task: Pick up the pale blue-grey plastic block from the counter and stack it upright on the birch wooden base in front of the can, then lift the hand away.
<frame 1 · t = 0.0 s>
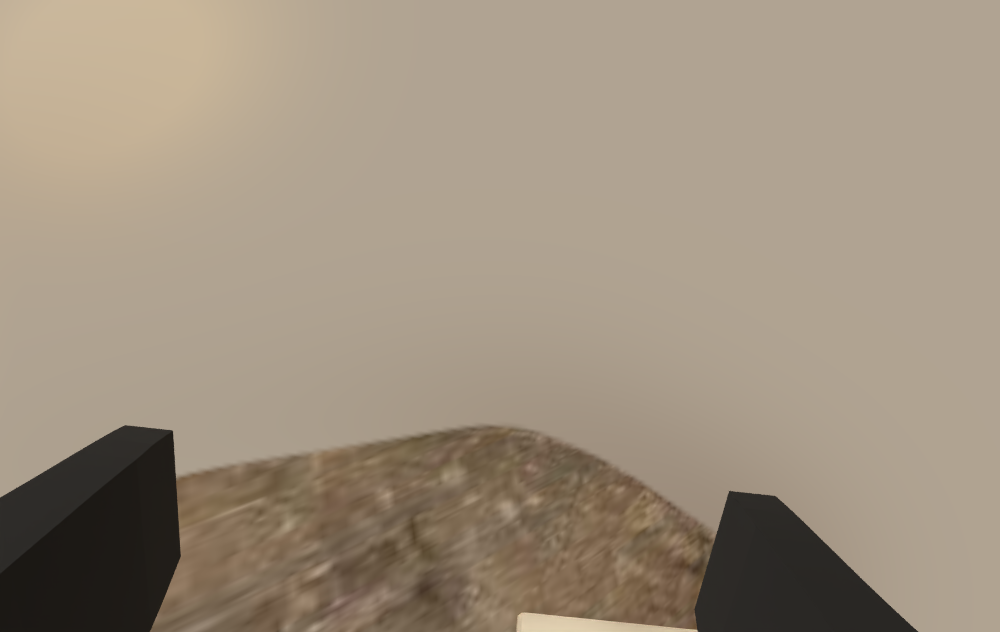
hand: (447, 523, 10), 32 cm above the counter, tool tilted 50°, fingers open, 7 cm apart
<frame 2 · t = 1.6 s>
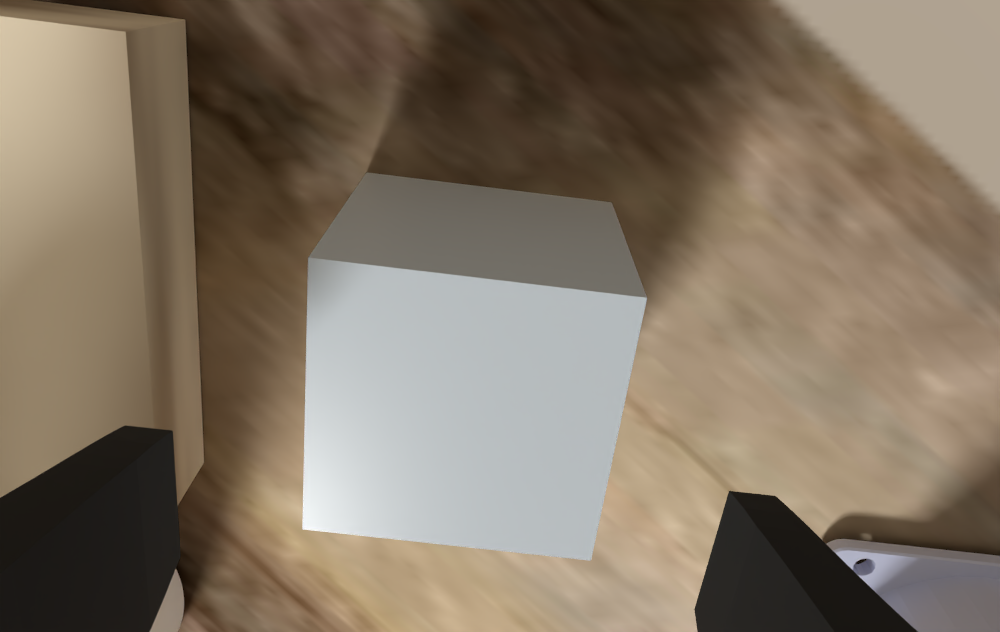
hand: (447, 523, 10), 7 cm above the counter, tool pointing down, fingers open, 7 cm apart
can: (69, 568, 21), on the counter
block: (476, 298, 17), on the counter
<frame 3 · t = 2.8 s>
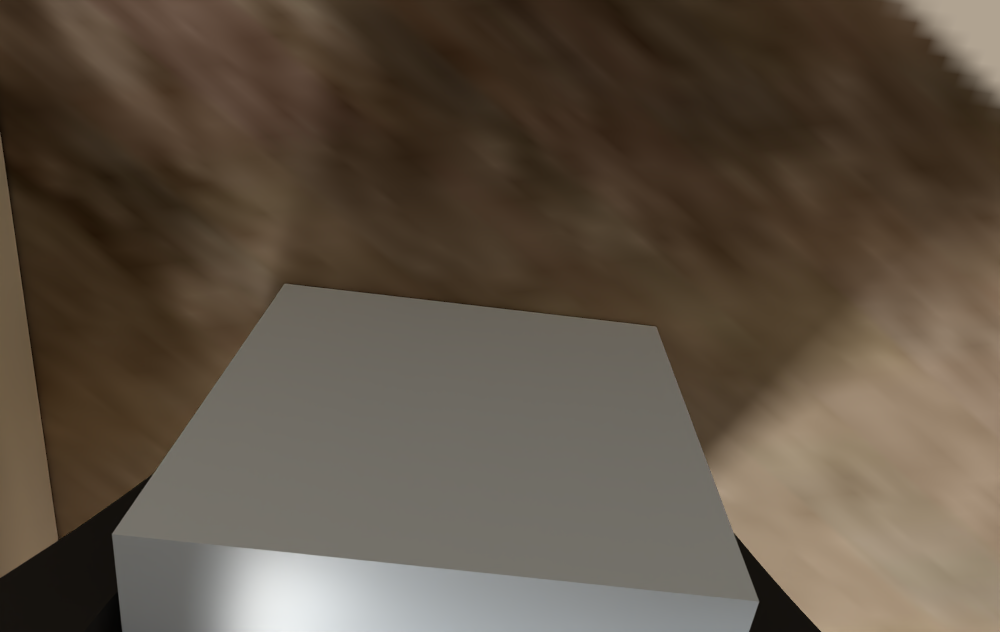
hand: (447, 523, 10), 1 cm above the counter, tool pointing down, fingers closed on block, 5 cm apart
block: (454, 459, 12), on the counter, touching gripper
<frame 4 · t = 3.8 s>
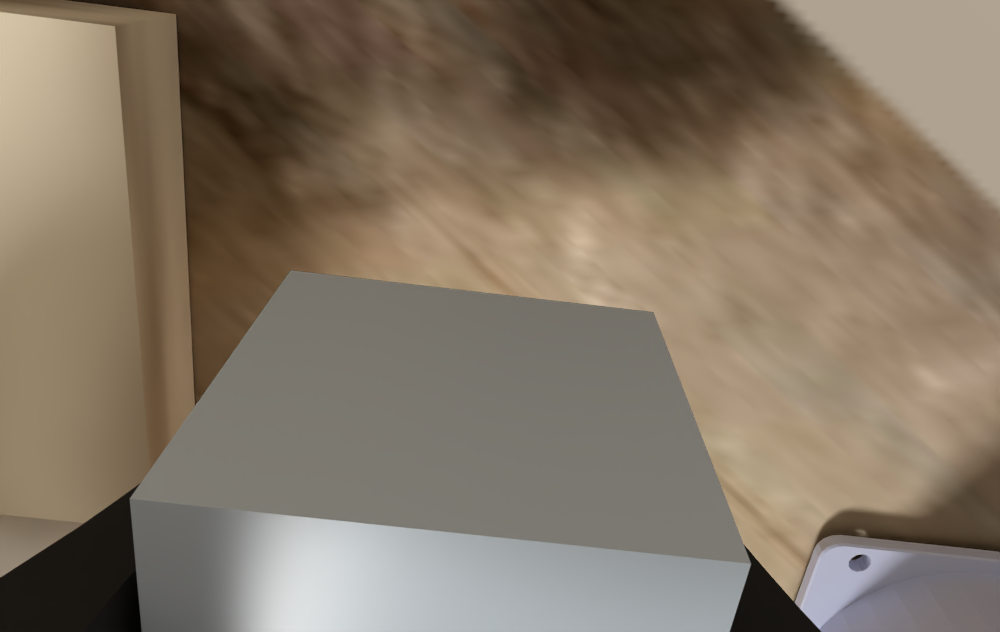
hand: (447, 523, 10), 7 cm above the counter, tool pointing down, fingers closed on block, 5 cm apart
can: (62, 567, 21), on the counter
block: (456, 444, 12), point 6 cm above the counter, touching gripper
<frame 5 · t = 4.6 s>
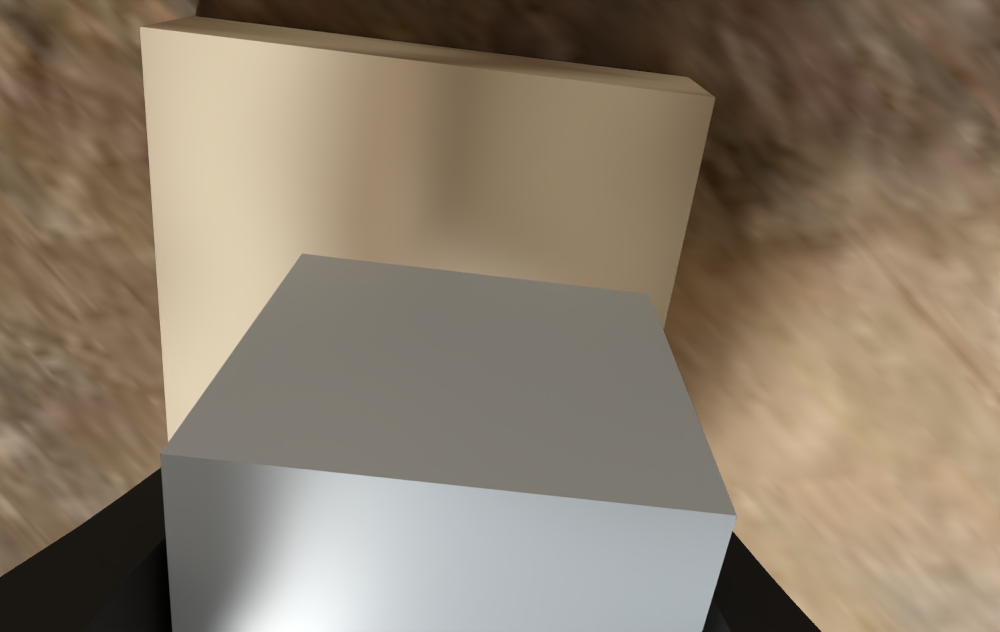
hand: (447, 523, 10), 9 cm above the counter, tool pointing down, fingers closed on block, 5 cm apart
base: (424, 276, 18), on the counter
block: (459, 422, 12), point 6 cm above the counter, touching gripper
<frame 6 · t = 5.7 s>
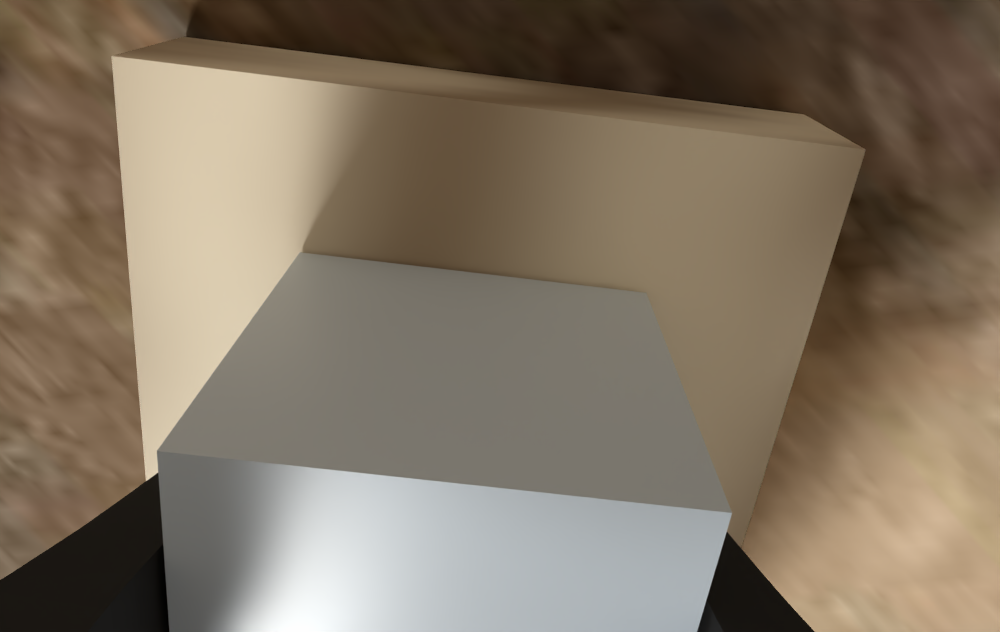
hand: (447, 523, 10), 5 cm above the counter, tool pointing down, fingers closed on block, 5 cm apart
base: (466, 351, 15), on the counter
block: (457, 420, 12), point 3 cm above the counter, touching gripper
when the fingers open (5 cm above the counter, at t = 5.9 s): block stays where it is, resting on base.
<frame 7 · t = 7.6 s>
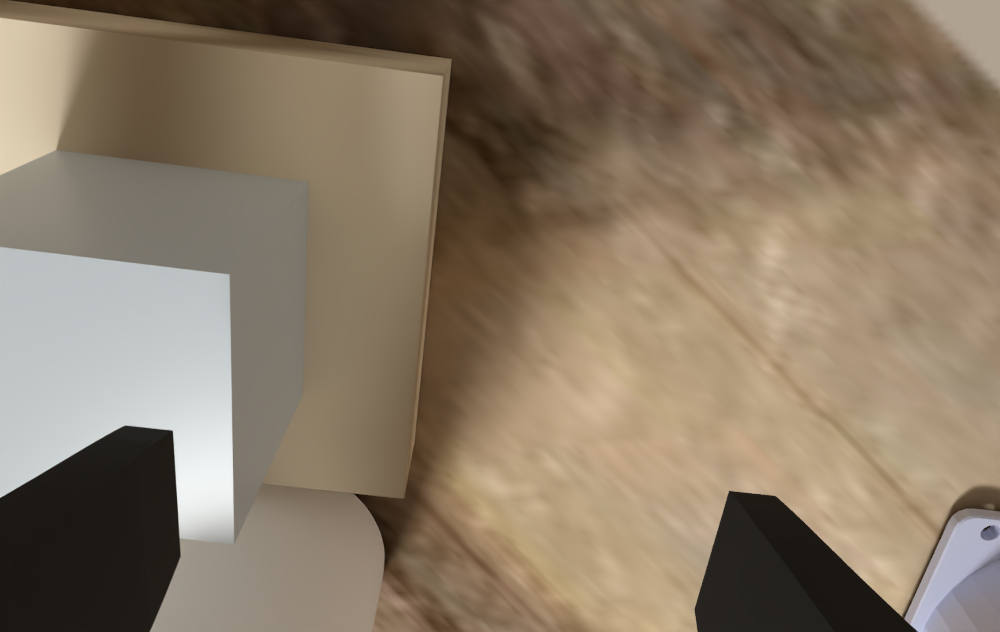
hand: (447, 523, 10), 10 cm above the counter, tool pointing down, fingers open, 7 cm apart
can: (278, 536, 23), on the counter
base: (225, 245, 19), on the counter
block: (187, 280, 17), point 2 cm above the counter, touching base
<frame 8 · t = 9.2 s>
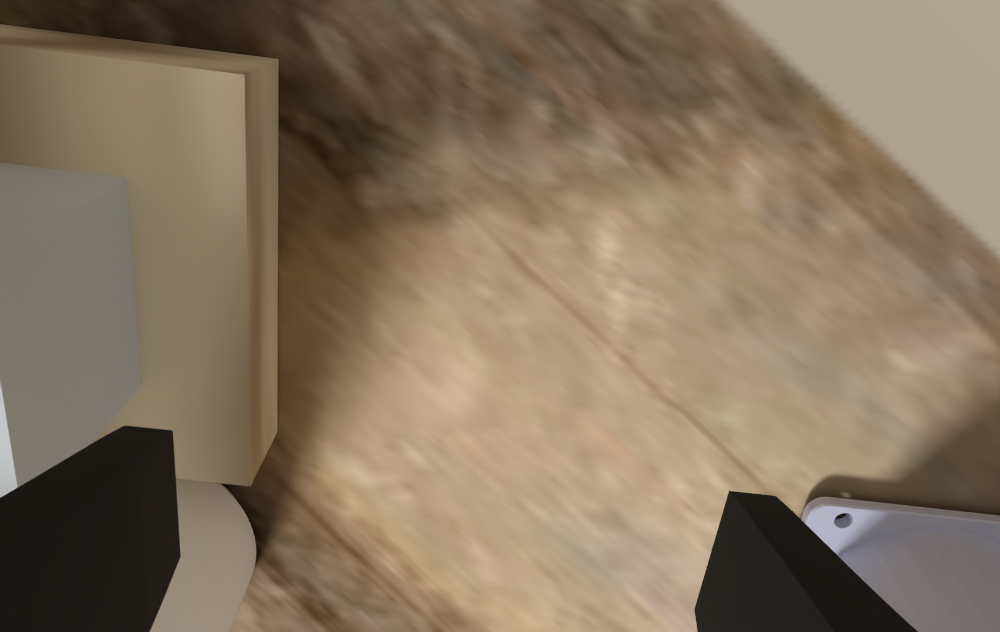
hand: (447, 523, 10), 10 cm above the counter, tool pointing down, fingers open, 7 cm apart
can: (155, 525, 24), on the counter
base: (77, 241, 20), on the counter
block: (20, 274, 18), point 2 cm above the counter, touching base
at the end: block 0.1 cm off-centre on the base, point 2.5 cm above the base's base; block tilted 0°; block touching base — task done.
